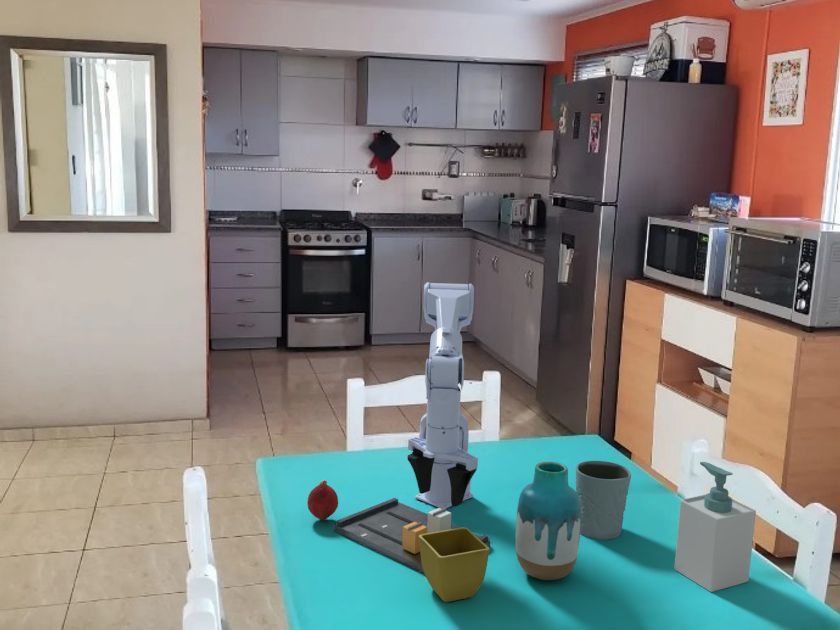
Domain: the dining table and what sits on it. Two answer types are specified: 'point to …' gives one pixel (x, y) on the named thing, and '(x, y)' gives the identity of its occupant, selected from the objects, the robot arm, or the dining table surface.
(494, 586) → the dining table surface
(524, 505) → the vase
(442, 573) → the flower pot
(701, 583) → the soap bottle
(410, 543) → the fader
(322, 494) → the onion
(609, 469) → the grey textured cup
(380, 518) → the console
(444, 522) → the fader
